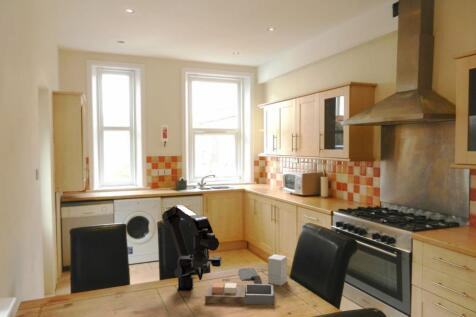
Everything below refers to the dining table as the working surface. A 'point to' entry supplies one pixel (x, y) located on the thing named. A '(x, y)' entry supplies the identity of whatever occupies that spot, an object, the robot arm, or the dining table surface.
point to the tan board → (226, 296)
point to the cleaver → (249, 275)
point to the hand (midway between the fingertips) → (200, 279)
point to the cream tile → (230, 288)
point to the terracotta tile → (218, 287)
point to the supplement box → (277, 269)
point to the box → (260, 294)
